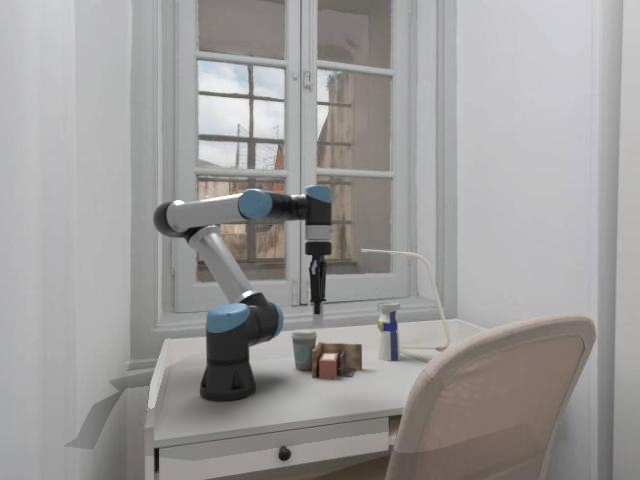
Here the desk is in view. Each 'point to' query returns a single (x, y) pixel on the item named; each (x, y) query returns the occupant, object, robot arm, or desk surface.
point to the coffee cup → (303, 347)
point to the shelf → (339, 357)
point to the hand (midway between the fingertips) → (318, 325)
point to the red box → (328, 366)
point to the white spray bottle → (388, 331)
